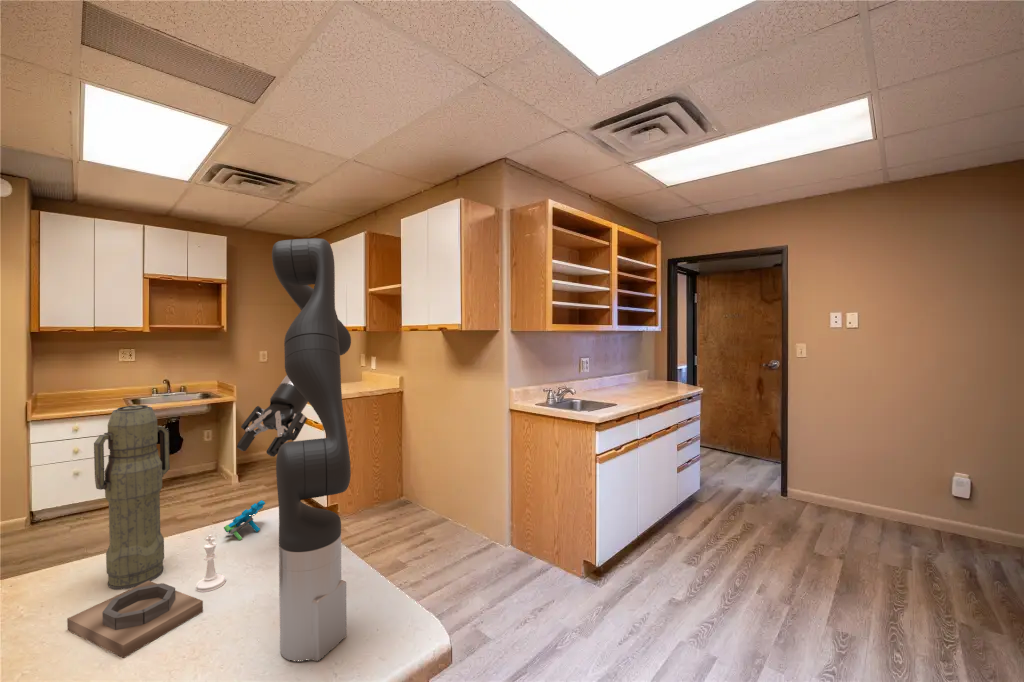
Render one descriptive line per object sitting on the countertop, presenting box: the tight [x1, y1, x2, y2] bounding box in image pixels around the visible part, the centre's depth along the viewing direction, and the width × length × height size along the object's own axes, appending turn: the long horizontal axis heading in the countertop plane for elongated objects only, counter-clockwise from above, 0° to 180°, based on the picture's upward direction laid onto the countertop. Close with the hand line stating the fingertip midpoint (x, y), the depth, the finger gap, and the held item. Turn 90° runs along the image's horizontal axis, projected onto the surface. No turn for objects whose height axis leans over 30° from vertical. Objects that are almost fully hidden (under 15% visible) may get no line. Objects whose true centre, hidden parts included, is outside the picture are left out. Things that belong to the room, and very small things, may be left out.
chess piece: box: [195, 534, 227, 593], centre depth 87 cm, size 5×5×10 cm
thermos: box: [93, 404, 171, 590], centre depth 89 cm, size 9×12×35 cm
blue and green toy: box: [223, 499, 266, 541], centre depth 109 cm, size 11×6×10 cm
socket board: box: [66, 581, 204, 659], centre depth 76 cm, size 16×12×4 cm
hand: (255, 452), depth 96 cm, fingers open, 8 cm apart
